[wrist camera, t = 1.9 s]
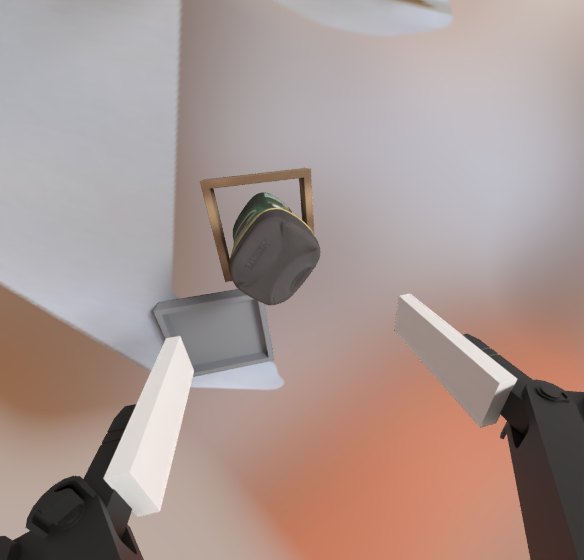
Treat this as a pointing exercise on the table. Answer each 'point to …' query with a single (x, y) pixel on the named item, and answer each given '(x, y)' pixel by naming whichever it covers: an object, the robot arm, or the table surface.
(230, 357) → the slate tray
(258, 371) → the table surface
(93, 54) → the table surface
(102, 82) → the table surface
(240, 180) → the walnut frame
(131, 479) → the robot arm
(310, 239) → the coffee jar
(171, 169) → the table surface
